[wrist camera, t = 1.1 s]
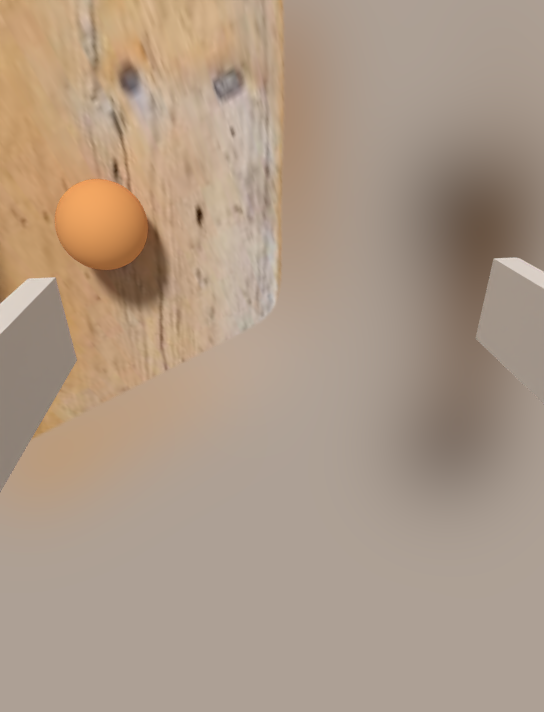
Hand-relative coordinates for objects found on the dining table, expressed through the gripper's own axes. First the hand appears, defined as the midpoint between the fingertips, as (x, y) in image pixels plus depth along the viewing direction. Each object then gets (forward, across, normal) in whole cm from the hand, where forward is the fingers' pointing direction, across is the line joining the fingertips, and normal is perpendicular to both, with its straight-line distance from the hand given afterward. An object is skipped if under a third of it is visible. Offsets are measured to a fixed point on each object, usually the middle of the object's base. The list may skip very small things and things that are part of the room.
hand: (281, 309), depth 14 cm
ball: (+17, -10, -1) cm, 20 cm away
